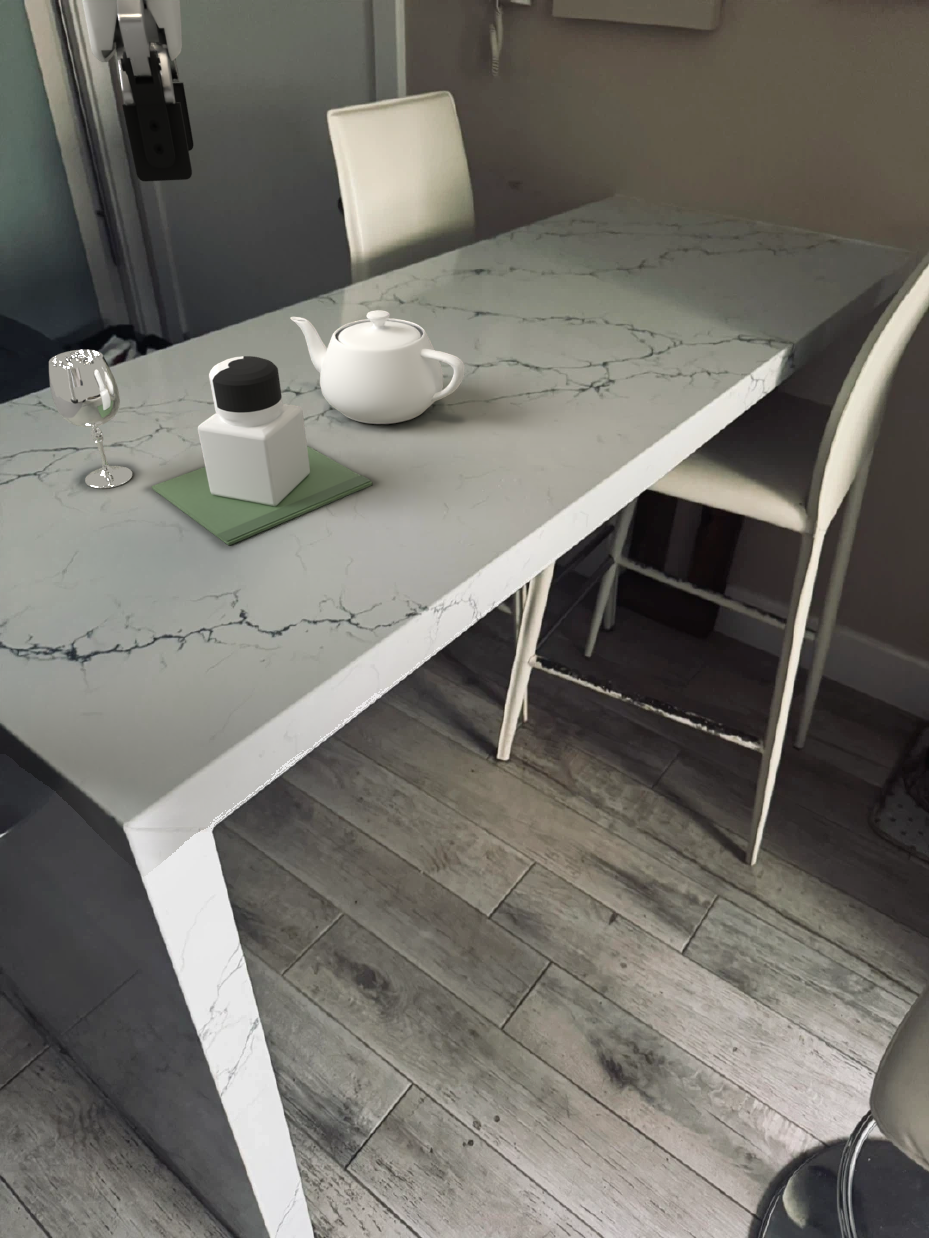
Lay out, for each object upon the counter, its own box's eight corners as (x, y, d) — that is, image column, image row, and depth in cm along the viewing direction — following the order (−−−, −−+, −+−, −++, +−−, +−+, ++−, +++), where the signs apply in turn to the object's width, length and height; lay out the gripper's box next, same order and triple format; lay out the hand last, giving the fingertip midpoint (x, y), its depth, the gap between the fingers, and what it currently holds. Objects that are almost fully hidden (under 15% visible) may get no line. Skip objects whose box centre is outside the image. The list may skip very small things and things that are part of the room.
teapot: (491, 402, 100) (492, 308, 94) (433, 450, 91) (430, 349, 84) (331, 369, 108) (323, 280, 102) (263, 410, 99) (249, 314, 92)
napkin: (228, 545, 76) (228, 542, 76) (152, 488, 84) (151, 485, 84) (372, 484, 85) (372, 481, 85) (290, 438, 93) (289, 435, 93)
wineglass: (151, 473, 87) (123, 355, 79) (104, 497, 83) (70, 376, 76) (113, 459, 89) (81, 343, 82) (65, 481, 85) (28, 362, 78)
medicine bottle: (311, 473, 86) (297, 354, 79) (276, 508, 81) (257, 384, 73) (248, 462, 88) (228, 345, 81) (209, 495, 83) (184, 373, 75)
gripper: (49, -178, 52) (118, 144, 63) (-5, -222, 39) (94, 196, 49) (178, -174, 54) (225, 140, 64) (170, -216, 40) (230, 189, 51)
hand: (168, 164), depth 57 cm, fingers open, 9 cm apart
